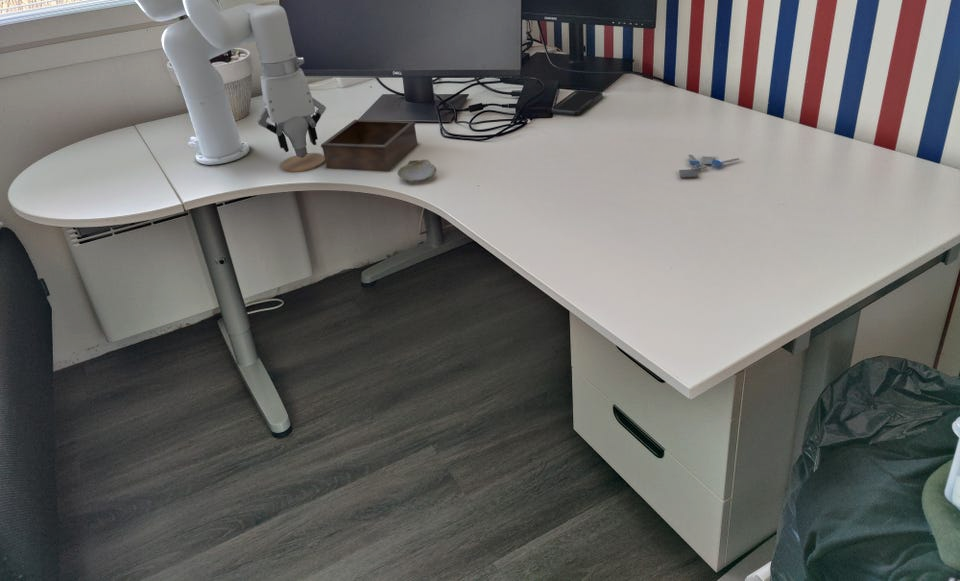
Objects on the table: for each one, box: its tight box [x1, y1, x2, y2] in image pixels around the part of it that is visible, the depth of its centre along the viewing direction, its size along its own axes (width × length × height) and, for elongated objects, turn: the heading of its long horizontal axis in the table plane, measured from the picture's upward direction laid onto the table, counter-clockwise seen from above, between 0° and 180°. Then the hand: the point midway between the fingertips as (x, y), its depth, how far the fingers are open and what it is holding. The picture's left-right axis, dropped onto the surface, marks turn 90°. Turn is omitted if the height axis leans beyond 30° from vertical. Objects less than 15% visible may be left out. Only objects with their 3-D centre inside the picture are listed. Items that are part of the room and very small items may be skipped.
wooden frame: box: [320, 119, 418, 172], centre depth 168 cm, size 16×16×6 cm
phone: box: [551, 89, 603, 117], centre depth 185 cm, size 8×1×15 cm
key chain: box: [678, 154, 740, 178], centre depth 147 cm, size 14×8×1 cm, turn 121°
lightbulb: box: [282, 117, 308, 158], centre depth 166 cm, size 6×6×11 cm
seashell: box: [397, 159, 437, 183], centre depth 156 cm, size 8×3×8 cm
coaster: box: [280, 152, 326, 173], centre depth 170 cm, size 10×10×1 cm
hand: (299, 146), depth 168 cm, fingers closed on lightbulb, 5 cm apart
